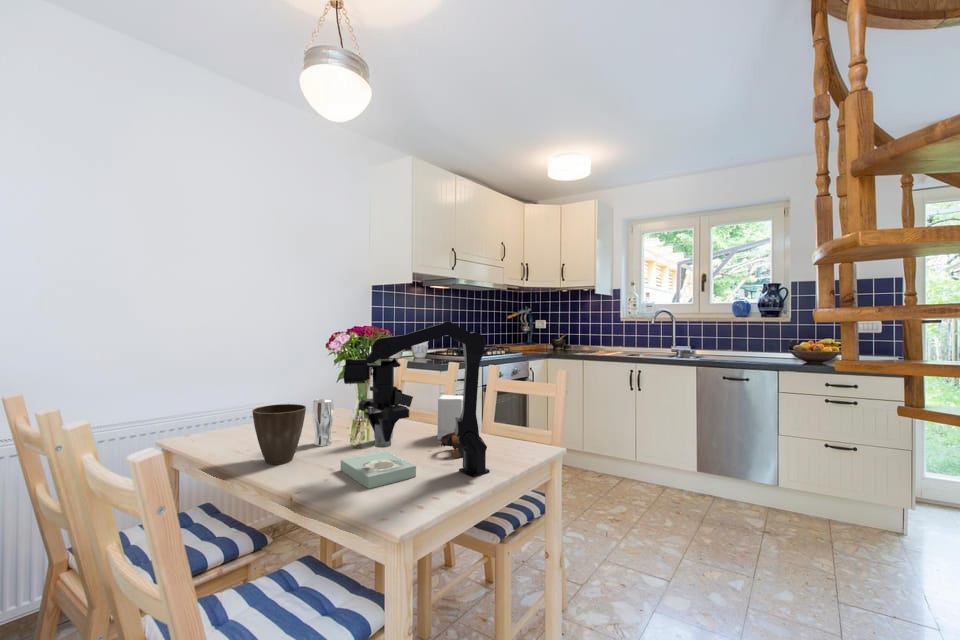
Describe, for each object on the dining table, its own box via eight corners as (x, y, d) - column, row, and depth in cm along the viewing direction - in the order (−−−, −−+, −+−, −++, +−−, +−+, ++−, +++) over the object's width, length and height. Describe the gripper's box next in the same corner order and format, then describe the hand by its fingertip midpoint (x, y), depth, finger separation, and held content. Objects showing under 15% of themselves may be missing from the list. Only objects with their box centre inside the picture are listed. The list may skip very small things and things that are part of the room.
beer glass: (312, 442, 155) (313, 399, 155) (333, 440, 157) (334, 398, 157) (311, 447, 148) (311, 403, 148) (333, 445, 150) (333, 402, 150)
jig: (415, 476, 121) (416, 465, 121) (368, 488, 112) (368, 477, 112) (384, 460, 135) (384, 450, 135) (340, 470, 126) (340, 459, 126)
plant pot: (258, 455, 139) (258, 404, 139) (308, 451, 143) (308, 402, 143) (246, 470, 125) (246, 414, 125) (302, 466, 129) (302, 411, 129)
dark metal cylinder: (393, 445, 121) (394, 423, 121) (379, 448, 118) (379, 426, 118) (386, 442, 124) (386, 421, 124) (371, 445, 121) (372, 423, 121)
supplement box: (461, 441, 157) (461, 399, 157) (437, 440, 158) (437, 398, 158) (465, 434, 166) (465, 395, 166) (441, 433, 167) (442, 394, 167)
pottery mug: (445, 461, 136) (438, 435, 139) (445, 465, 145) (439, 441, 148) (482, 449, 138) (474, 424, 142) (480, 454, 147) (473, 431, 150)
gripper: (426, 384, 119) (426, 441, 119) (392, 377, 133) (392, 428, 133) (389, 388, 112) (389, 449, 112) (358, 380, 126) (357, 434, 126)
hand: (383, 439), depth 121 cm, fingers closed on dark metal cylinder, 4 cm apart
